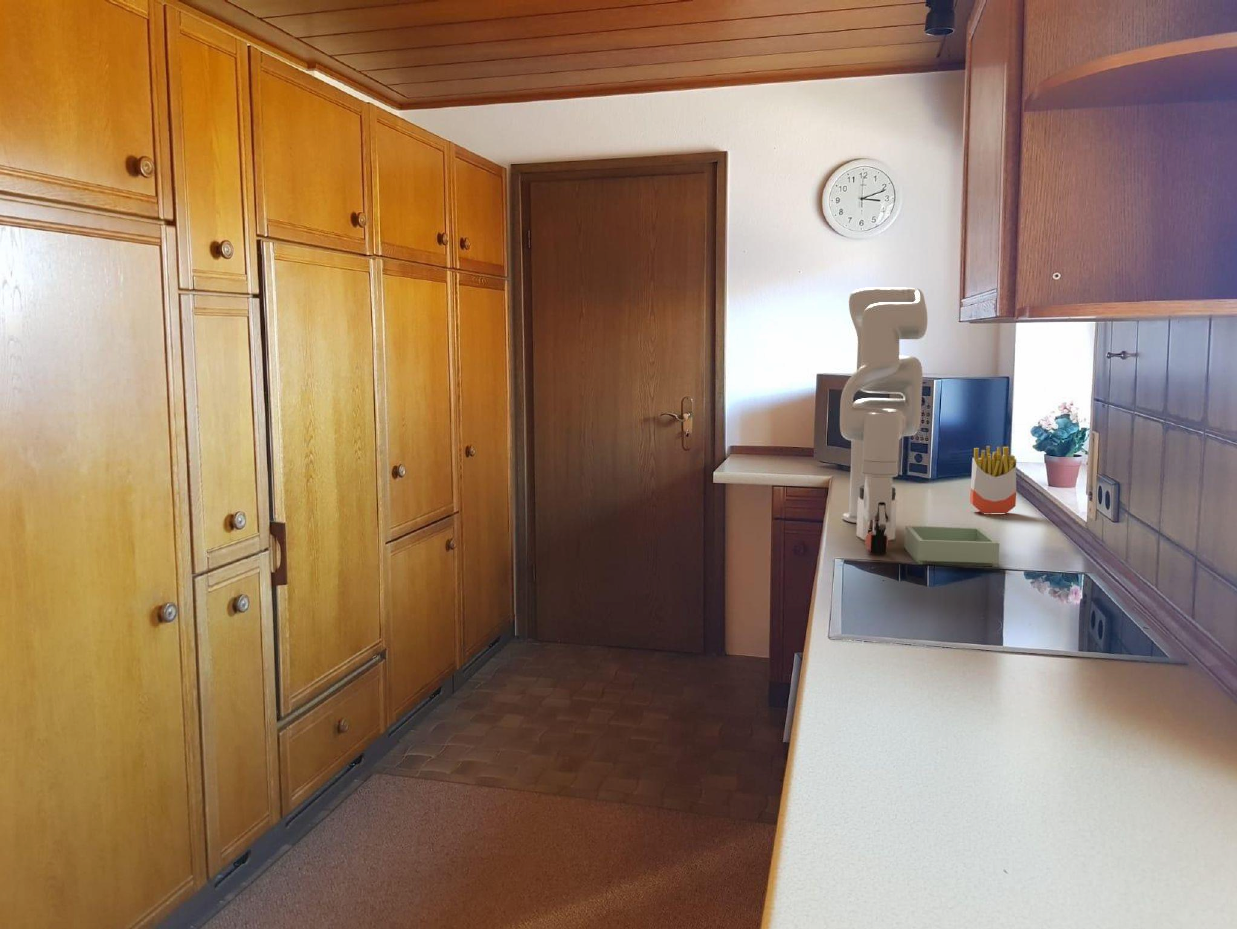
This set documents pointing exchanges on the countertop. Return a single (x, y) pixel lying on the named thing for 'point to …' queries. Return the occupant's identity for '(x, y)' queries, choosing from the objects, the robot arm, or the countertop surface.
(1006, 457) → the french fries container
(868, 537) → the tomato ball
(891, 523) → the jar
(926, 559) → the green bin
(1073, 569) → the countertop surface
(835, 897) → the countertop surface
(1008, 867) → the countertop surface
